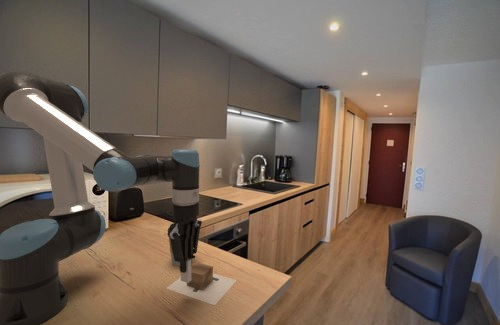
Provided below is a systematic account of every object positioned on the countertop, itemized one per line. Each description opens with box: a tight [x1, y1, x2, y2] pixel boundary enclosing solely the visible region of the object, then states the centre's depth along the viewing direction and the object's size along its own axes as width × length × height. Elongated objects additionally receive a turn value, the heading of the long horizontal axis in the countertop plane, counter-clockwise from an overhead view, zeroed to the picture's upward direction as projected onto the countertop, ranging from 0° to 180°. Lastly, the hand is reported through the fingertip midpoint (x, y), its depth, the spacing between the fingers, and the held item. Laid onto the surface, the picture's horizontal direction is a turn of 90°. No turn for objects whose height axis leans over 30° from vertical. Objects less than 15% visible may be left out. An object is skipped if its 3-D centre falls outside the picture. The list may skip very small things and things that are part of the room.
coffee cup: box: [167, 222, 180, 267], centre depth 89 cm, size 9×9×15 cm
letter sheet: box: [165, 272, 237, 306], centre depth 76 cm, size 14×18×1 cm
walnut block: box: [187, 262, 214, 291], centre depth 77 cm, size 6×6×5 cm
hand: (186, 280), depth 69 cm, fingers closed
